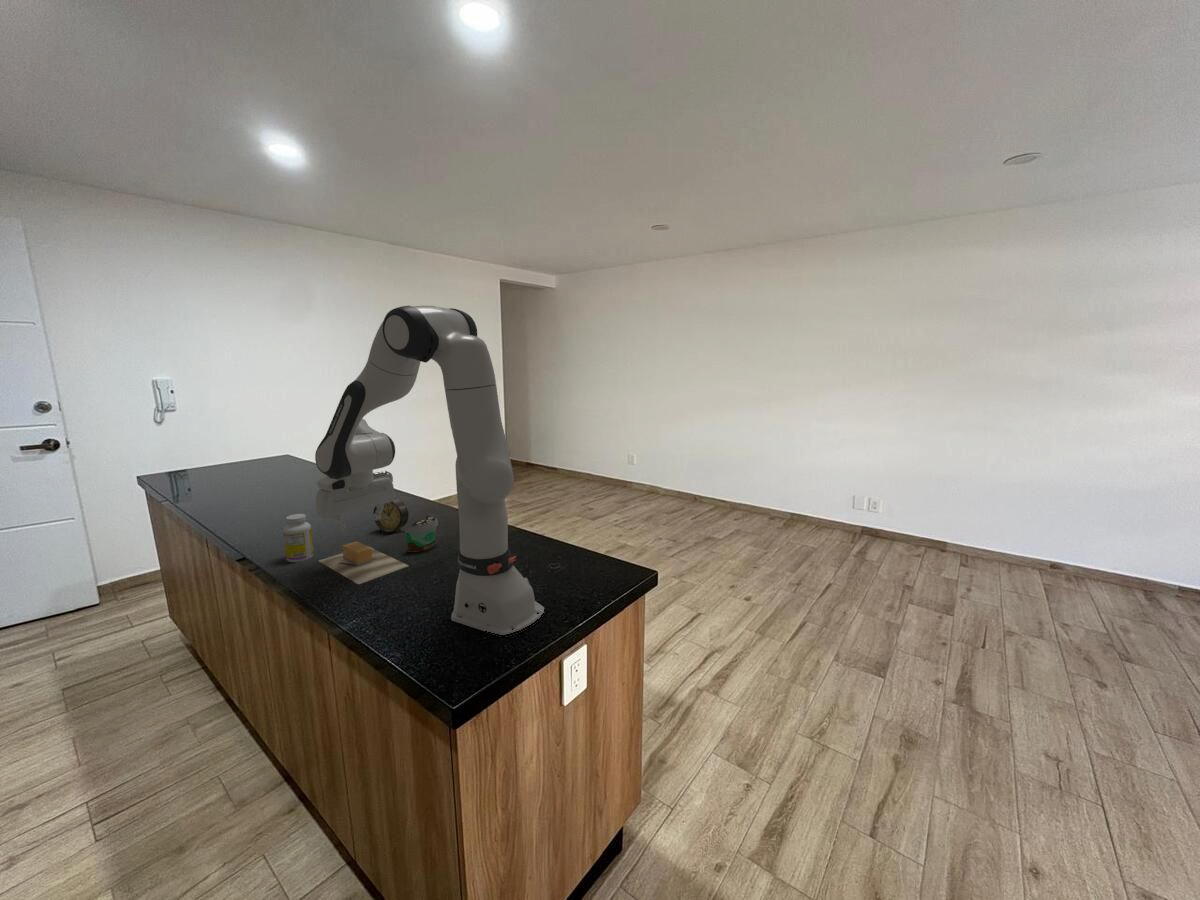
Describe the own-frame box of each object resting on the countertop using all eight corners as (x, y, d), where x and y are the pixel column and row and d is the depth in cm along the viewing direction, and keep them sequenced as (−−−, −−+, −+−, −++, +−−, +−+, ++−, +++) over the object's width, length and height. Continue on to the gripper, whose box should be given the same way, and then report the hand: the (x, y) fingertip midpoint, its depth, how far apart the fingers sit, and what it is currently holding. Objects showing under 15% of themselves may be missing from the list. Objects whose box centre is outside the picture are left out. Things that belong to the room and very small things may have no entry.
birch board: (409, 570, 126) (409, 565, 126) (359, 589, 115) (358, 584, 115) (367, 550, 138) (367, 545, 138) (318, 565, 127) (317, 560, 127)
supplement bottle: (302, 552, 136) (298, 511, 133) (319, 555, 134) (315, 514, 131) (280, 561, 129) (276, 518, 127) (297, 564, 127) (293, 521, 125)
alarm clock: (373, 533, 152) (370, 486, 149) (384, 527, 157) (382, 482, 154) (401, 537, 150) (399, 490, 147) (412, 531, 155) (410, 485, 152)
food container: (424, 560, 133) (423, 528, 131) (405, 558, 134) (404, 526, 132) (446, 544, 145) (445, 515, 143) (429, 542, 146) (428, 513, 144)
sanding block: (372, 561, 127) (371, 548, 127) (358, 566, 124) (357, 552, 124) (357, 554, 132) (356, 541, 131) (343, 558, 129) (342, 545, 128)
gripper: (385, 468, 134) (390, 512, 137) (310, 482, 118) (316, 532, 121) (397, 471, 131) (401, 516, 133) (320, 486, 115) (327, 538, 117)
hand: (360, 524), depth 127 cm, fingers open, 8 cm apart
